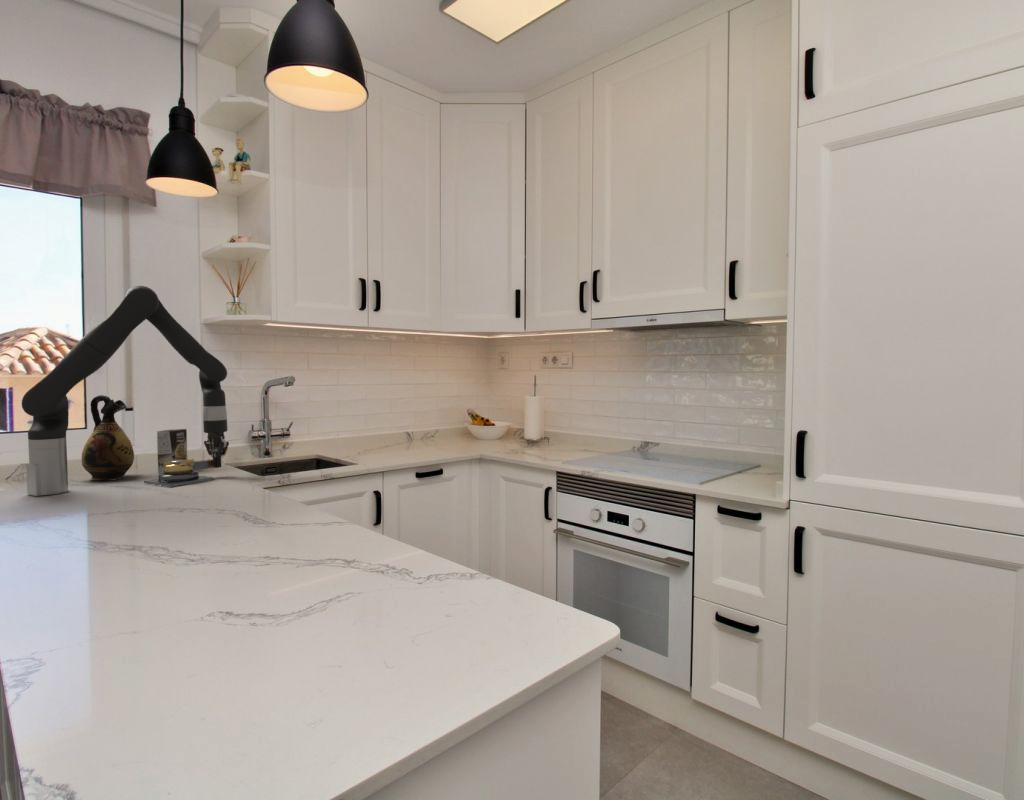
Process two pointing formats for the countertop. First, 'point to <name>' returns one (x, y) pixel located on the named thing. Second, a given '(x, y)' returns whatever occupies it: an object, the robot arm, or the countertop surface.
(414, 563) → the countertop surface
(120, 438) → the ceramic jug
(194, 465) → the rotary lever handle
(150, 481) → the housing
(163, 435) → the coffee box
